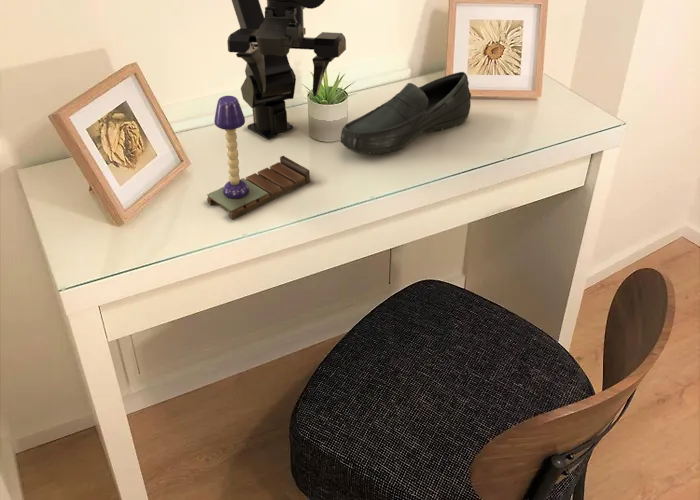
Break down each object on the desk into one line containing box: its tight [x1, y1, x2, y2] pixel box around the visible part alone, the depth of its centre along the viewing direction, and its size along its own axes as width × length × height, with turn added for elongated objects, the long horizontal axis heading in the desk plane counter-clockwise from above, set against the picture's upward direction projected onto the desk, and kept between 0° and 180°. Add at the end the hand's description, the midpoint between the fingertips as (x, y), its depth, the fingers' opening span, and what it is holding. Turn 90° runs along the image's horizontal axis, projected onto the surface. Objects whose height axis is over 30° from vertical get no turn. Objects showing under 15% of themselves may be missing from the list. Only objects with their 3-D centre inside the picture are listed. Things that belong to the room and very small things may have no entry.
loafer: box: [340, 71, 472, 155], centre depth 140 cm, size 10×29×10 cm, turn 131°
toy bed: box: [206, 155, 311, 221], centre depth 126 cm, size 16×7×2 cm, turn 134°
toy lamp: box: [214, 95, 249, 199], centre depth 119 cm, size 5×5×17 cm
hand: (289, 94), depth 128 cm, fingers open, 9 cm apart
